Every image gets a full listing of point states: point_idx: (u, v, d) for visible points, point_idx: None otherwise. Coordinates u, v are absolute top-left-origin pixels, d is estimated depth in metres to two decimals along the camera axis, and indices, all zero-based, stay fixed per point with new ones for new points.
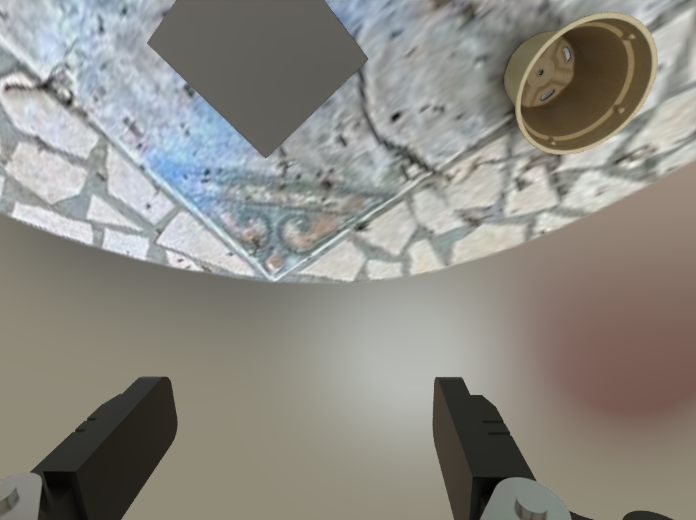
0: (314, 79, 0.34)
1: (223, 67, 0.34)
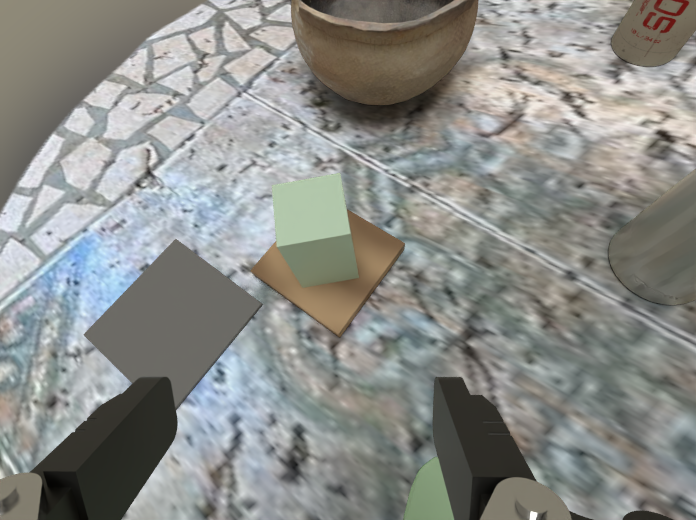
0: (150, 370, 0.38)
1: (160, 293, 0.41)
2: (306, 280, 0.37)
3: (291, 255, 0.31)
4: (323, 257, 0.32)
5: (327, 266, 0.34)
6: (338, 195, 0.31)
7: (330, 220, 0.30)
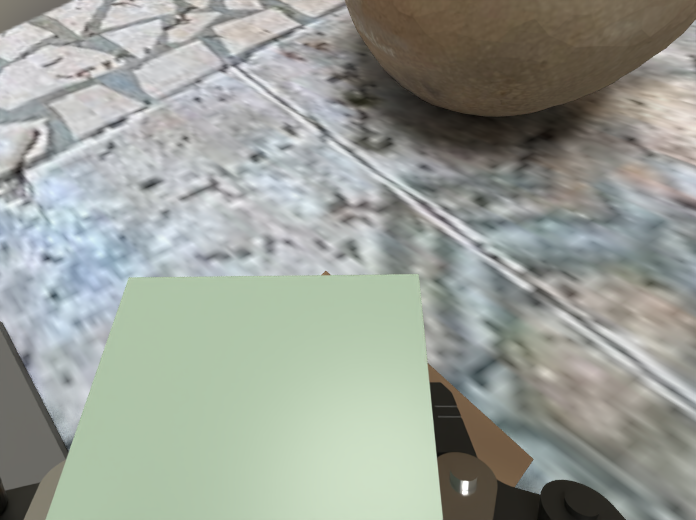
0: None
1: None
2: None
3: None
4: None
5: None
6: (403, 390, 0.06)
7: None
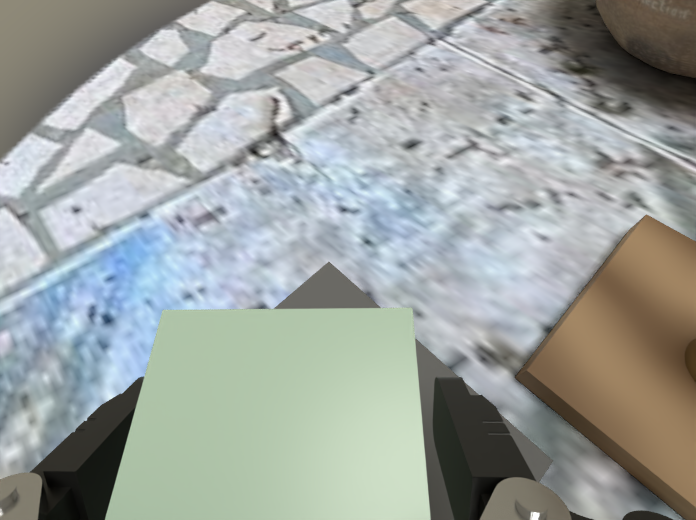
0: None
1: None
2: None
3: None
4: None
5: None
6: (398, 409, 0.08)
7: None
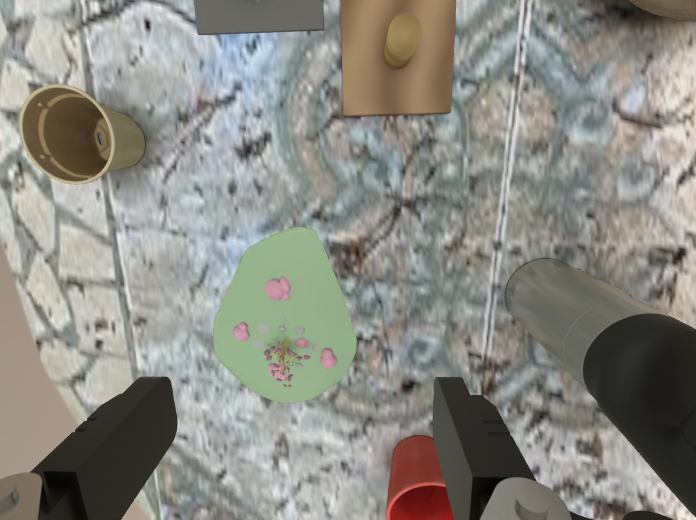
0: None
1: None
2: None
3: None
4: None
5: None
6: None
7: None
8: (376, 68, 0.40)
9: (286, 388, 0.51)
